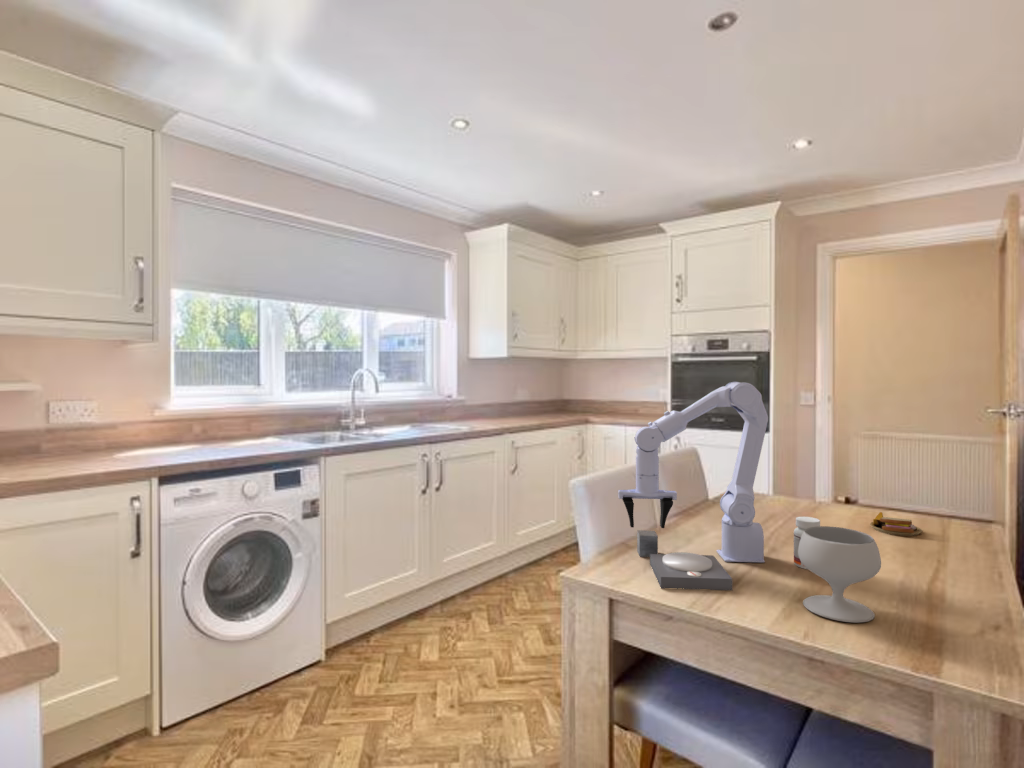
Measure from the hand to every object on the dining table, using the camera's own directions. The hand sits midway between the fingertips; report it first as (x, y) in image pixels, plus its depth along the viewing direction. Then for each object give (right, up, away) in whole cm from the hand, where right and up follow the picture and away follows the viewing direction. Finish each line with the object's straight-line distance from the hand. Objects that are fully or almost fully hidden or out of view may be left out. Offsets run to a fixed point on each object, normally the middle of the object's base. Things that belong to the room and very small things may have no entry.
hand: (647, 526), depth 142 cm
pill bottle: (+36, -7, -9) cm, 38 cm away
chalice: (+29, -8, -34) cm, 45 cm away
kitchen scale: (+6, -7, -15) cm, 18 cm away
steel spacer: (0, -7, 0) cm, 7 cm away
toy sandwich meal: (+77, -7, +19) cm, 80 cm away
